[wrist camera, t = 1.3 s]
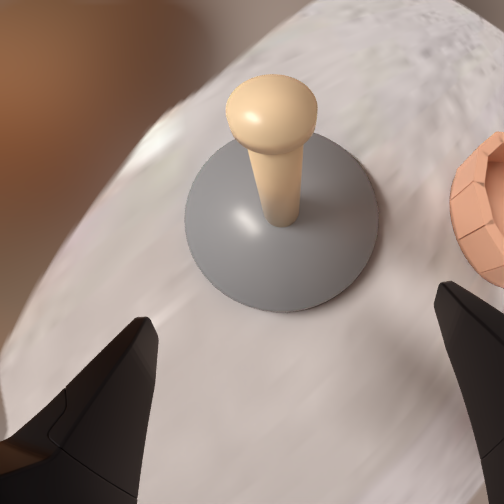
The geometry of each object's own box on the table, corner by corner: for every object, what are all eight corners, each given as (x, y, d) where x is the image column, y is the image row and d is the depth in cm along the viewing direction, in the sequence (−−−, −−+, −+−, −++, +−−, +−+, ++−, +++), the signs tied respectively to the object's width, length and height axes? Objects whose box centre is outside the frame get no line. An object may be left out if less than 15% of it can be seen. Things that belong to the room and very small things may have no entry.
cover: (409, 239, 22) (506, 162, 9) (254, 350, 22) (210, 388, 9) (300, 109, 25) (300, -17, 13) (159, 197, 25) (68, 105, 12)
